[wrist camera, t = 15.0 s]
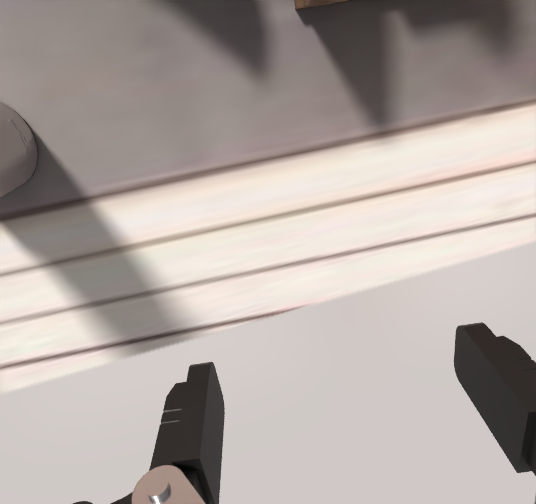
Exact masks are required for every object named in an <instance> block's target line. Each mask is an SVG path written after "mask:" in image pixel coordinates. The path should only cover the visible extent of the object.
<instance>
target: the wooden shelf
mask: <svg viewBox="0 0 536 504" xmlns="http://www.w3.org/2000/svg"><path fill="white" fill-rule="evenodd" d="M294 1H295V10H297V9H302V8H308V7H314V6H320V5H326V4H331V3H337V2H343V1H349V0H294Z"/></svg>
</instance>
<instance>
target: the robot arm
mask: <svg viewBox="0 0 536 504" xmlns="http://www.w3.org/2000/svg"><path fill="white" fill-rule="evenodd" d="M37 159H38V154H37V146H36V142H35V139H34V136H33V134H32V132H31V130H30V128H29V127H28V126H27V124H26V123H25V122H24V120H23V119H22V118H21V117H20V116H19V115H18V114H17V113H16V112H15V111H14V110H12V109H11V108H9V107H8V106H6V105H5V104H3V103H1V102H0V198H1V197H2V196H4V195H6V194H7V193H9V192H11V191H12V190H14V189H15V188H17V187H19V186H20V185H22V184H23V183H25V182H26V181H27V180H28V179H29V178H30V177H31V176H32V174H33V173H34V170H35V168H36V165H37ZM454 367H455V372H456V375H457V378H458V380H459V382H460V383H461V385H462V387H463V388H464V390H465V391H466V393H467V394H468V396H469V398H470V399H471V401H472V402H473V404H474V405H475V407H476V408H477V410H478V412H479V413H480V415H481V416H482V418H483V420H484V421H485V423H486V424H487V426H488V428H489V429H490V431H491V432H492V434H493V436H494V437H495V439H496V440H497V442H498V443H499V445H500V447H501V448H502V450H503V451H504V453H505V454H506V456H507V458H508V459H509V461H510V462H511V464H512V466H513V467H514V469H515V470H516V472H517V473H521V472H529V471H533V473H534V474H535V475H536V363H535V362H534V361H533V360H531V357H530V356H529V355H528V354H527V353H526V352H525V350H524V349H523V348H522V347H521V346H520V345H518V344H517V343H515V342H513V341H512V340H509V339H508V338H506V337H504V336H499V337H496V336H495V335H494V334H493V333H492V331H491V330H490V329H489V328H488V327H487V326H486V325H485V324H484V323H475V324H468V325H461V326H458V327H457V329H456V339H455V354H454ZM223 429H224V400H223V395H222V391H221V388H220V384H219V380H218V377H217V373H216V369H215V366H214V364H213V362H208V363H201V364H195V365H190V367H189V371H188V377H187V382H183V383H176V384H175V385H174V387H173V388H172V390H171V391H170V392H169V394H168V395H167V397H166V402H165V406H164V413H163V415H162V419H161V425H160V427H159V432H158V436H157V440H156V444H155V449H154V453H153V457H152V462H151V466H150V469H149V472H147V473H146V474H145V475H144V476H143V477H142V478H141V479H140V480H139V481H138V483H137V484H136V486H135V488H134V491H133V492H132V493H130V494H129V495H127V496H126V497H124V498H122V499H120V500H117V501H116V502H113V503H111V504H219V492H220V491H219V490H220V477H221V461H222V445H223ZM73 504H92V503H90V502H87V501H82V502H76V503H73ZM534 504H536V496H535V503H534Z"/></svg>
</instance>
